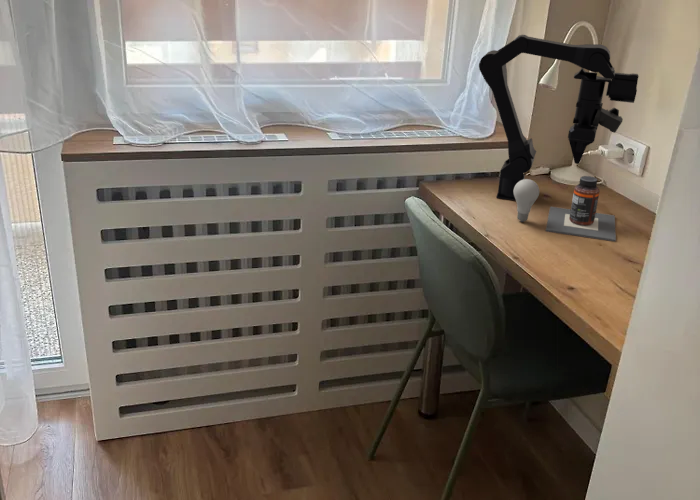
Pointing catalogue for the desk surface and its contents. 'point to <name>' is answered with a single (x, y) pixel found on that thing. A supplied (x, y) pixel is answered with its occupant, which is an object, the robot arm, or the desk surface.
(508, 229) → the desk surface
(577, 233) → the card
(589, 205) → the supplement bottle
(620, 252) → the desk surface
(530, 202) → the lightbulb
